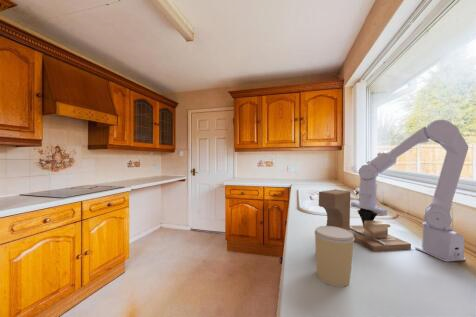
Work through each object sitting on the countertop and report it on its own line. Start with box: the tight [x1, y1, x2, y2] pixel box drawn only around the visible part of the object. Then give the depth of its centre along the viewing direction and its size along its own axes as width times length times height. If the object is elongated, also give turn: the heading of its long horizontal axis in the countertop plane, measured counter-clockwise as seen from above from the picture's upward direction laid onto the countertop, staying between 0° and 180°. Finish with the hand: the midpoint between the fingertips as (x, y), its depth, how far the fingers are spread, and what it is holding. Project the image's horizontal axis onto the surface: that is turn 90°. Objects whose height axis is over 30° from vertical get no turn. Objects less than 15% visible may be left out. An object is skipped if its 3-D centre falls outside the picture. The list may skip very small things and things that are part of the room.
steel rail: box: [350, 227, 386, 245], centre depth 80 cm, size 20×1×1 cm, turn 10°
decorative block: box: [318, 188, 351, 231], centre depth 69 cm, size 11×6×20 cm, turn 127°
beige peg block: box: [364, 219, 391, 238], centre depth 79 cm, size 5×9×5 cm, turn 100°
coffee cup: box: [314, 225, 355, 288], centre depth 53 cm, size 9×9×12 cm
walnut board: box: [350, 224, 412, 252], centre depth 80 cm, size 20×15×2 cm
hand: (367, 228), depth 83 cm, fingers closed
